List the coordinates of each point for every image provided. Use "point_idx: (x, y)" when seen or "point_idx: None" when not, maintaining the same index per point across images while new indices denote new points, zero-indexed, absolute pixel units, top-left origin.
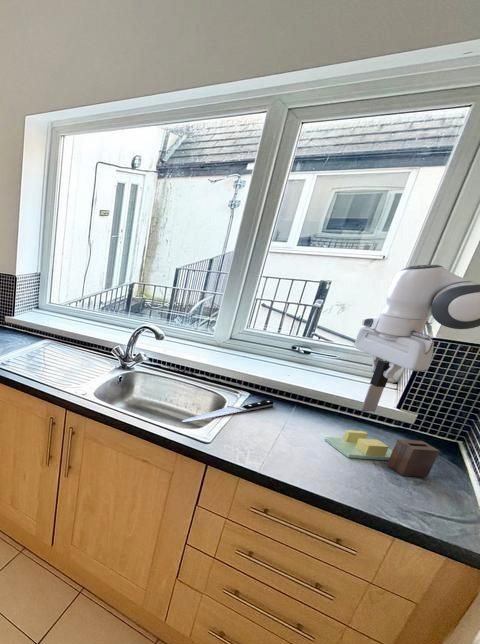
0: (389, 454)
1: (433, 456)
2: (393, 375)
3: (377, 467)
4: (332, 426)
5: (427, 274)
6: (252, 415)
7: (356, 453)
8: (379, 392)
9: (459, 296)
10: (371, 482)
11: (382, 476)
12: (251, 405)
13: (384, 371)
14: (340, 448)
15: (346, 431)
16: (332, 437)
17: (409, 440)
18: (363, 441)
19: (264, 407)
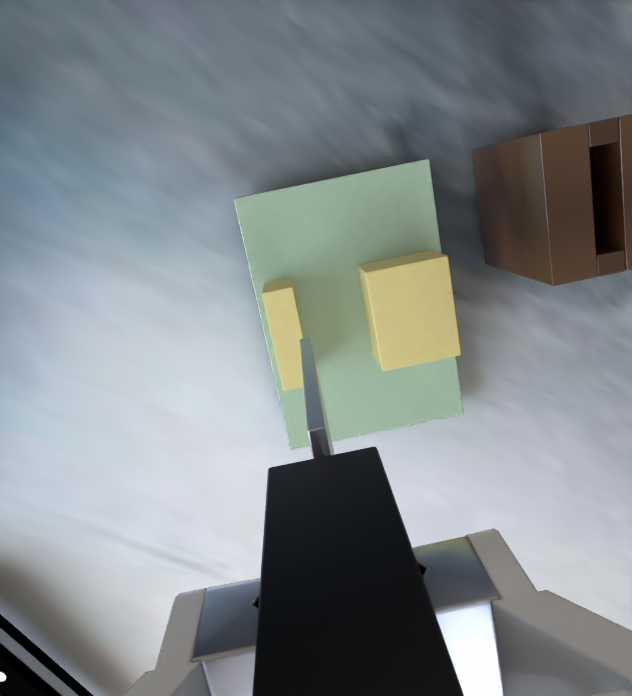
0: (404, 215)
1: None
2: (514, 558)
3: (484, 296)
4: (42, 311)
5: None
6: (79, 656)
7: (441, 376)
8: (325, 421)
9: None
10: (624, 384)
11: (563, 315)
12: None
13: (466, 694)
14: (404, 426)
15: (290, 388)
16: (284, 417)
17: (554, 219)
18: (416, 362)
19: (8, 635)
